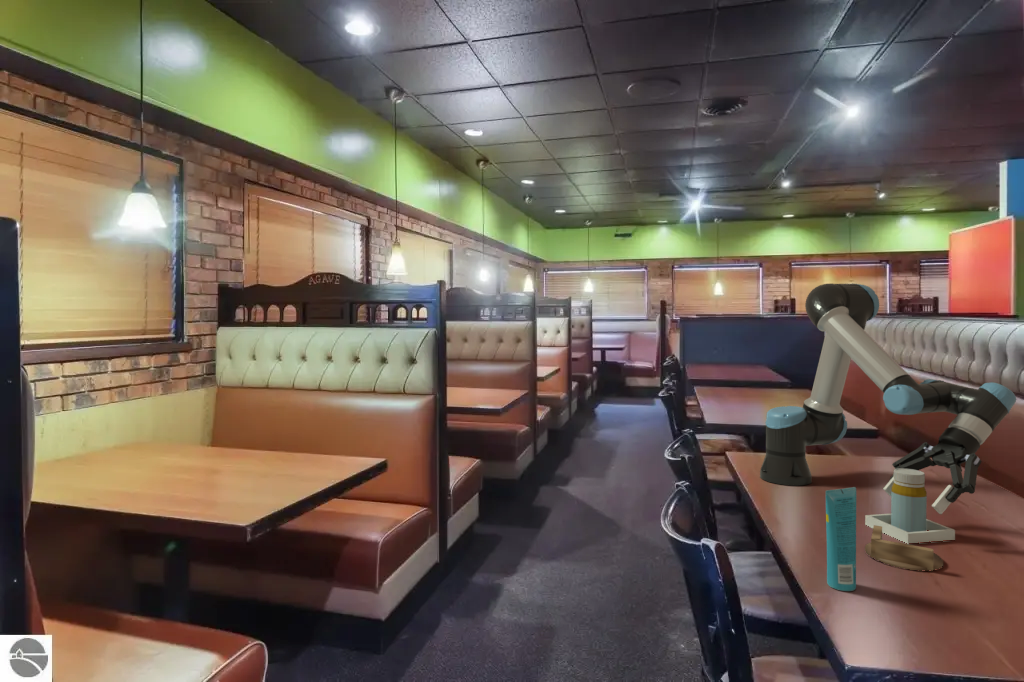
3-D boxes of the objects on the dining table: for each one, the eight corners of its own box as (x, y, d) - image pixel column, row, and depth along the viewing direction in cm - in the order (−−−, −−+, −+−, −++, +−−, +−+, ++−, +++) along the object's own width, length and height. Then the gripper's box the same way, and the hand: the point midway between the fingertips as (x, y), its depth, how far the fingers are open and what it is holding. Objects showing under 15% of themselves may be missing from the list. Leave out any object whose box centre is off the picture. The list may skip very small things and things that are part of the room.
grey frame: (865, 525, 142) (865, 515, 142) (908, 521, 144) (908, 512, 144) (907, 544, 129) (908, 533, 129) (954, 540, 131) (955, 529, 131)
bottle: (920, 529, 139) (920, 469, 138) (930, 539, 132) (931, 476, 132) (887, 526, 141) (887, 467, 140) (896, 536, 134) (896, 474, 134)
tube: (842, 577, 113) (843, 483, 112) (865, 587, 109) (866, 489, 108) (816, 584, 110) (817, 487, 110) (839, 595, 106) (839, 494, 105)
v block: (901, 541, 131) (901, 523, 131) (963, 569, 116) (964, 548, 116) (846, 546, 129) (846, 527, 129) (903, 575, 114) (903, 554, 113)
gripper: (1027, 458, 126) (970, 529, 124) (927, 436, 150) (878, 495, 148) (1007, 435, 125) (949, 507, 123) (910, 417, 149) (860, 477, 147)
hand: (910, 501), depth 136 cm, fingers open, 13 cm apart
